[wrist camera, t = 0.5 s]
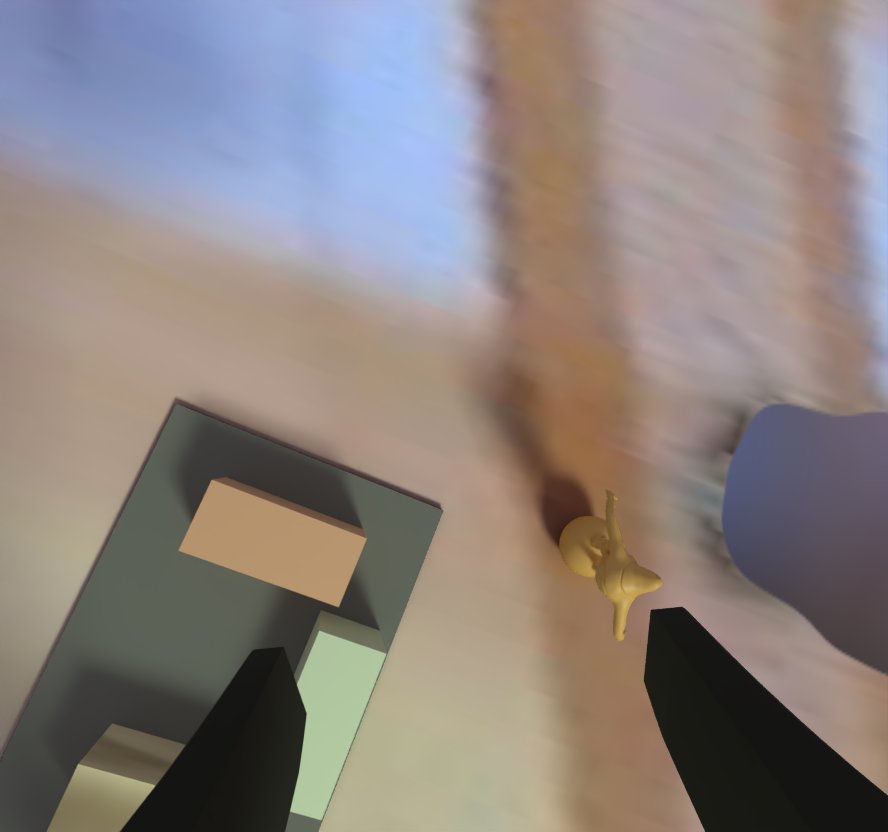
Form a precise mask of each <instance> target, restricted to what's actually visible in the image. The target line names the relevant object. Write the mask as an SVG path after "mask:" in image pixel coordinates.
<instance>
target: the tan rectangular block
mask: <svg viewBox="0 0 888 832" xmlns="http://www.w3.org/2000/svg"><path fill="white" fill-rule="evenodd" d="M366 540H367V538H366V535H365V533H364V530H363V529H361V528H358V527H356V526H353V525H351V524H348V523H345V522H343V521H340V520H338V519H335V518H332V517H330V516H327V515H324V514H322V513H319V512H317V511H314V510H311V509H309V508H306V507H304V506H301V505H298V504H296V503H293V502H290V501H288V500H285V499H283V498H280V497H277V496H275V495H272V494H270V493H267V492H264V491H262V490H259V489H256V488H254V487H251V486H249V485H246V484H243V483H241V482H238V481H236V480H233V479H230V478H228V477H225V478H219V479H213V480H211V482H210V485H209V487H208V489H207V491H206V493H205V495H204V497H203V499H202V502H201V504H200V506H199V508H198V510H197V512H196V514H195V516H194V519H193V521H192V523H191V525H190V527H189V529H188V531H187V533H186V536H185V538H184V540H183V542H182V544H181V546H180V548H179V551H181V552H184V553H186V554H189V555H192V556H195V557H198V558H201V559H203V560H206V561H209V562H212V563H215V564H218V565H220V566H223V567H226V568H229V569H232V570H235V571H237V572H240V573H243V574H246V575H249V576H252V577H254V578H257V579H260V580H263V581H266V582H269V583H272V584H274V585H277V586H280V587H283V588H286V589H289V590H291V591H294V592H297V593H300V594H303V595H306V596H308V597H311V598H314V599H317V600H320V601H323V602H325V603H328V604H331V605H334V606H337V607H339V605H340V603H341V600H342V598H343V596H344V593H345V591H346V588H347V586H348V583H349V581H350V579H351V576H352V574H353V571H354V569H355V566H356V564H357V562H358V559H359V557H360V554H361V552H362V549H363V547H364V544H365V542H366Z"/></svg>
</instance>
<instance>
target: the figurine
mask: <svg viewBox="0 0 888 832" xmlns="http://www.w3.org/2000/svg"><path fill="white" fill-rule="evenodd" d="M606 493H607V497H608V499H607V503H606V521H604V520H603V519H600V518H598V517H594V516H583V517H579V518H576V519H574V520H572V521H571V522H570V523H568V524H567V525H566V527H565V528H564V530H563V531H562V534H561V537H560V542H559V547H560V553H561V556H562V558H563V560H564V562H565V563H566V564H567V566H568V567H569V568H570V569H572V570H573V571H574V572H576V573H578V574H580V575H583V576H587V577H595V579H596V583H597V585H598V587H599V589H600V590H601V592H602V593H603V594H604V595H605V596H606V597H608V598H609V599H610V600H611V601H612V602H613V604H614V609H615V610H614V620H613V632H614V637H615V638H616V640H617V641H622V640H623V639H624V636H625V634H626V630H625V631H624V628H625V624H626V617H627V612H628V610H629V608H630V605H631V603H632V602H633V600H634V599H635V598H636V597H637V596H638V595H640V594H643V593H646V592H650V591H654V590H656V589H658V588H659V587H660V586H661V584H662V580H661V578H660V577H659V576H658V575H657V574H655V573H654V572H652V571H650V570H648V569H646V568H644V567H641V566H639V565H638V564H637V562H636V560H635V559H634V558H633V556H631V555H630V554H628V553H627V551H626V549H625V547H624V546H625V545H624V542H623V540H622V539H621V534H620V530H619V527H618V524H617V521H616V518H615V511H614V510H615V500H618V499H617V498H616V497H615V495H614V494H613V493H612V492H611V491H608V490H606ZM614 499H615V500H614Z"/></svg>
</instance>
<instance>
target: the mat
mask: <svg viewBox="0 0 888 832" xmlns="http://www.w3.org/2000/svg"><path fill="white" fill-rule="evenodd" d="M225 477H228V478H230V479H233V480H236V481H238V482H241V483H243V484H246V485H249V486H251V487H254V488H256V489H259V490H262V491H264V492H267V493H270V494H272V495H275V496H277V497H280V498H283V499H285V500H288V501H290V502H293V503H296V504H298V505H301V506H304V507H306V508H309V509H311V510H314V511H317V512H319V513H322V514H324V515H327V516H330V517H332V518H335V519H338V520H340V521H343V522H345V523H348V524H351V525H353V526H356V527H358V528H361V529H363V530H364V533H365V535H366V538H367V540H366V542H365V544H364V547H363V549H362V552H361V554H360V557H359V559H358V562H357V564H356V566H355V569H354V571H353V574H352V576H351V579H350V581H349V583H348V586H347V588H346V591H345V593H344V596H343V598H342V600H341V603H340V605H339V607H337V606H334V605H331V604H328V603H325V602H323V601H320V600H317V599H314V598H311V597H308V596H306V595H303V594H300V593H297V592H294V591H291V590H289V589H286V588H283V587H280V586H277V585H274V584H272V583H269V582H266V581H263V580H260V579H257V578H254V577H252V576H249V575H246V574H243V573H240V572H237V571H235V570H232V569H229V568H226V567H223V566H220V565H218V564H215V563H212V562H209V561H206V560H203V559H201V558H198V557H195V556H192V555H189V554H186V553H184V552H181V551H179V548H180V546H181V544H182V542H183V540H184V538H185V536H186V533H187V531H188V529H189V527H190V525H191V523H192V521H193V519H194V516H195V514H196V512H197V510H198V508H199V506H200V504H201V502H202V499H203V497H204V495H205V493H206V491H207V489H208V487H209V485H210V482H211V480H213V479H219V478H225ZM442 513H443V510H441V509H439V508H436V507H434V506H431V505H429V504H426V503H424V502H421V501H419V500H416V499H414V498H411V497H409V496H406V495H404V494H401V493H399V492H396V491H394V490H391V489H389V488H386V487H384V486H381V485H379V484H376V483H374V482H371V481H369V480H366V479H364V478H361V477H359V476H356V475H354V474H351V473H349V472H346V471H344V470H341V469H339V468H336V467H334V466H331V465H329V464H326V463H324V462H321V461H319V460H316V459H314V458H311V457H309V456H306V455H304V454H301V453H299V452H296V451H294V450H291V449H289V448H286V447H284V446H281V445H279V444H276V443H274V442H271V441H269V440H266V439H264V438H261V437H259V436H256V435H254V434H251V433H249V432H246V431H244V430H241V429H239V428H236V427H234V426H231V425H229V424H226V423H224V422H221V421H218V420H216V419H213V418H211V417H208V416H206V415H203V414H201V413H198V412H196V411H193V410H191V409H188V408H186V407H183V406H181V405H178V404H176V405H175V407H174V409H173V411H172V413H171V415H170V417H169V420H168V422H167V424H166V426H165V428H164V430H163V432H162V434H161V436H160V438H159V440H158V442H157V444H156V446H155V448H154V450H153V452H152V454H151V456H150V458H149V460H148V462H147V464H146V466H145V468H144V470H143V472H142V474H141V476H140V478H139V480H138V482H137V484H136V486H135V488H134V490H133V492H132V495H131V497H130V499H129V501H128V503H127V505H126V507H125V509H124V511H123V513H122V515H121V517H120V519H119V521H118V523H117V525H116V527H115V529H114V531H113V533H112V535H111V537H110V539H109V541H108V543H107V545H106V547H105V549H104V551H103V553H102V555H101V557H100V559H99V561H98V563H97V565H96V567H95V569H94V572H93V574H92V576H91V578H90V580H89V582H88V584H87V586H86V588H85V590H84V592H83V594H82V596H81V598H80V600H79V602H78V604H77V606H76V608H75V610H74V612H73V614H72V616H71V618H70V620H69V622H68V624H67V626H66V628H65V630H64V632H63V634H62V636H61V638H60V640H59V642H58V644H57V647H56V649H55V651H54V653H53V655H52V657H51V659H50V661H49V663H48V665H47V667H46V669H45V671H44V673H43V675H42V677H41V679H40V681H39V683H38V685H37V687H36V689H35V691H34V693H33V695H32V697H31V699H30V701H29V703H28V705H27V707H26V709H25V711H24V713H23V715H22V717H21V719H20V722H19V724H18V726H17V728H16V730H15V732H14V734H13V736H12V738H11V740H10V742H9V744H8V746H7V748H6V750H5V752H4V754H3V756H2V758H1V760H0V832H47V830H48V827H49V825H50V823H51V821H52V819H53V817H54V815H55V812H56V810H57V808H58V806H59V804H60V802H61V800H62V798H63V795H64V793H65V791H66V789H67V787H68V785H69V783H70V781H71V778H72V776H73V774H74V772H75V770H76V768H77V766H78V764H79V763H80V761H81V760H82V759H83V758H84V757H85V755H86V754H87V753H88V752H89V751H90V749H91V748H92V747H93V746H94V745H95V743H96V742H97V741H98V740H99V739H100V737H101V736H102V735H103V734H104V733H105V731H106V730H107V729H108V728H109V727H110V726H111V724H116V725H119V726H123V727H126V728H130V729H133V730H137V731H140V732H143V733H147V734H150V735H154V736H157V737H161V738H164V739H167V740H171V741H174V742H178V743H181V744H185V745H186V744H187V743H188V741H189V740H190V738H191V737H192V736H193V734H194V733H195V732H196V730H197V729H198V727H199V726H200V725H201V723H202V722H203V720H204V719H205V718H206V716H207V715H208V713H209V712H210V710H211V709H212V708H213V706H214V705H215V703H216V702H217V700H218V699H219V697H220V696H221V695H222V693H223V692H224V690H225V689H226V687H227V686H228V684H229V683H230V681H231V680H232V679H233V677H234V676H235V674H236V673H237V671H238V670H239V668H240V667H241V665H242V664H243V662H244V661H245V660H246V658H247V657H248V655H249V654H250V653H251V652H252V651H253V650H254V649H264V648H274V647H284V649H285V652H286V654H287V657H288V660H289V663H290V666H291V669H292V672H293V675H294V674H295V671H296V669H297V666H298V664H299V662H300V659H301V657H302V654H303V652H304V649H305V647H306V645H307V642H308V640H309V637H310V635H311V633H312V630H313V628H314V625H315V623H316V621H317V618H318V616H319V613H320V611H321V610H322V611H325V612H328V613H331V614H334V615H337V616H340V617H342V618H345V619H348V620H351V621H354V622H357V623H360V624H362V625H365V626H368V627H371V628H374V629H377V630H380V632H381V636H382V639H383V643H384V647H385V650H386V656H387V654H388V651H389V649H390V646H391V644H392V641H393V639H394V636H395V633H396V631H397V628H398V626H399V623H400V621H401V618H402V615H403V613H404V610H405V608H406V605H407V603H408V600H409V597H410V595H411V592H412V590H413V587H414V585H415V582H416V580H417V577H418V574H419V572H420V569H421V567H422V564H423V562H424V559H425V556H426V554H427V551H428V549H429V546H430V544H431V541H432V538H433V536H434V533H435V531H436V528H437V526H438V523H439V521H440V518H441V515H442ZM386 656H385V659H386ZM385 659H384V662H385ZM384 662H383V664H384ZM383 664H382V667H383ZM382 667H381V669H382ZM381 669H380V672H381ZM380 672H379V674H380ZM379 674H378V677H379ZM378 677H377V679H376V682H377V680H378ZM376 682H375V685H376ZM375 685H374V687H375ZM374 687H373V690H374ZM373 690H372V692H373ZM372 692H371V695H372ZM371 695H370V697H371ZM370 697H369V700H370ZM369 700H368V703H369ZM368 703H367V705H368ZM367 705H366V708H367ZM366 708H365V710H366ZM365 710H364V713H365ZM364 713H363V715H364ZM363 715H362V718H363ZM362 718H361V720H360V723H361V721H362ZM360 723H359V726H360ZM359 726H358V728H359ZM358 728H357V731H358ZM357 731H356V733H357ZM356 733H355V736H356ZM355 736H354V738H353V741H354V739H355ZM353 741H352V744H353ZM352 744H351V746H352ZM351 746H350V749H351ZM350 749H349V751H350ZM349 751H348V754H349ZM348 754H347V756H348ZM347 756H346V759H347ZM346 759H345V761H344V764H345V762H346ZM344 764H343V767H344ZM343 767H342V769H343ZM342 769H341V772H342ZM341 772H340V774H341ZM340 774H339V777H340ZM339 777H338V779H337V782H338V780H339ZM337 782H336V785H337ZM336 785H335V787H336ZM335 787H334V790H335ZM334 790H333V792H334ZM333 792H332V795H333ZM332 795H331V797H330V800H331V798H332ZM330 800H329V802H328V805H329V803H330ZM328 805H327V808H328ZM327 808H326V810H327ZM326 810H325V813H326ZM325 813H324V815H325ZM324 815H323V818H324ZM323 818H322V820H319V819H315V818H311V817H308V816H304V815H301V814H297V813H293V812H290V814H289V818H288V822H287V826H286V830H285V832H318V831H319V828H320V826H321V823H322V821H323Z"/></svg>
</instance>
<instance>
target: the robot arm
mask: <svg viewBox="0 0 888 832" xmlns="http://www.w3.org/2000/svg"><path fill="white" fill-rule="evenodd" d="M644 683H645V686H646V689H647V692H648V695H649V698H650V701H651V704H652V707H653V710H654V713H655V716H656V719H657V722H658V725H659V728H660V731H661V734H662V737H663V739H664V741H665V744H666V746H667V748H668V750H669V753H670V755H671V757H672V759H673V762H674V764H675V766H676V768H677V771H678V773H679V775H680V777H681V779H682V782H683V784H684V786H685V788H686V791H687V793H688V795H689V797H690V799H691V802H692V804H693V806H694V808H695V810H696V813H697V815H698V817H699V819H700V821H701V824H702V826H703V828H704V830H705V832H888V795H887V794H885V793H884V792H883V791H882V790H881V789H879V788H878V787H877V786H876V785H874V784H873V783H872V782H871V781H870V780H868V779H867V778H866V777H865V776H864V775H862V774H861V773H860V772H859V771H858V770H856V769H855V768H854V767H853V766H852V765H850V764H849V763H848V762H847V761H846V760H845V759H844V758H842V757H841V756H840V755H839V754H838V753H837V752H835V751H834V750H833V749H832V748H831V747H830V746H828V745H827V744H826V743H825V742H824V741H823V740H822V739H820V738H819V737H818V736H817V735H816V734H815V733H814V732H813V731H811V730H810V729H809V728H808V727H807V726H806V725H805V724H804V723H802V722H801V721H800V720H799V719H798V718H797V717H796V716H795V715H794V714H793V713H792V712H791V711H789V710H788V709H787V708H786V707H785V706H784V705H783V704H782V703H781V702H780V701H779V700H778V699H777V698H775V697H774V696H773V695H772V694H771V693H770V692H769V691H768V690H767V689H766V688H765V687H764V686H763V685H762V684H760V683H759V682H758V681H757V680H756V679H755V678H754V677H753V676H752V675H751V674H750V673H749V672H748V671H747V670H746V669H745V668H744V667H743V666H742V665H741V664H740V663H739V662H738V661H737V660H736V659H735V658H734V657H733V656H732V655H731V654H730V653H729V652H728V651H727V650H726V649H725V648H724V647H723V646H722V645H721V644H720V643H719V642H718V641H717V640H716V639H715V638H714V637H713V636H712V635H711V634H710V633H709V632H708V631H707V630H706V629H705V628H704V627H703V626H702V625H701V624H700V623H699V622H698V621H697V620H696V619H695V618H694V617H693V616H692V615H691V614H690V613H689V612H688V611H687V610H686V609H685V608H683V607H675V608H665V609H655V610H651V613H650V623H649V633H648V644H647V654H646V664H645V674H644ZM306 717H307V712H306V709H305V707H304V704H303V701H302V698H301V695H300V692H299V689H298V686H297V683H296V681H295V678H294V675H293V672H292V669H291V666H290V663H289V660H288V657H287V654H286V652H285V649H284V647H274V648H264V649H254V650H253V651H252V652H251V653H250V654H249V655H248V657H247V658H246V660H245V661H244V662H243V664H242V665H241V667H240V668H239V670H238V671H237V673H236V674H235V676H234V677H233V679H232V680H231V681H230V683H229V684H228V686H227V687H226V689H225V690H224V692H223V693H222V695H221V696H220V697H219V699H218V700H217V702H216V703H215V705H214V706H213V708H212V709H211V710H210V712H209V713H208V715H207V716H206V718H205V719H204V720H203V722H202V723H201V725H200V726H199V727H198V729H197V730H196V732H195V733H194V734H193V736H192V737H191V738H190V740H189V741H188V743H187V744H186V745H185V747H184V748H183V749H182V751H181V752H180V754H179V755H178V756H177V758H176V759H175V760H174V762H173V763H172V765H171V766H170V767H169V769H168V770H167V771H166V773H165V774H164V775H163V777H162V778H161V779H160V781H159V782H158V783H157V784H156V786H155V787H154V788H153V790H152V791H151V792H150V793H149V795H148V796H147V797H146V798H145V800H144V801H143V802H142V804H141V805H140V806H139V807H138V809H137V810H136V811H135V813H134V814H133V815H132V816H131V818H130V819H129V820H128V821H127V823H126V824H125V825H124V827H123V828H122V829H121V830H120V832H285V830H286V826H287V822H288V818H289V814H290V809H291V805H292V801H293V797H294V792H295V788H296V784H297V779H298V775H299V770H300V763H301V756H302V749H303V741H304V733H305V725H306Z"/></svg>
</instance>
